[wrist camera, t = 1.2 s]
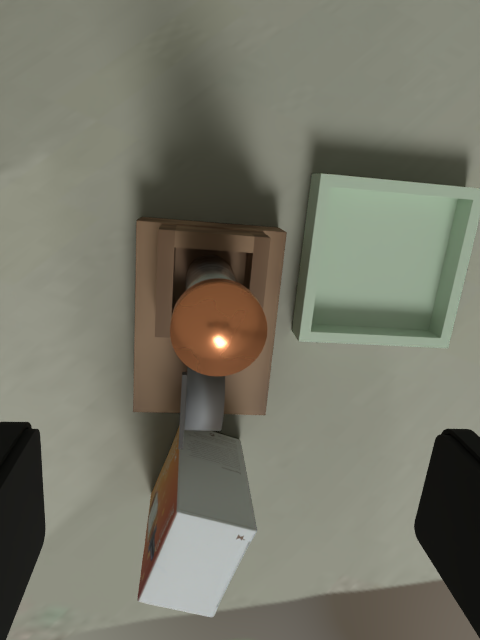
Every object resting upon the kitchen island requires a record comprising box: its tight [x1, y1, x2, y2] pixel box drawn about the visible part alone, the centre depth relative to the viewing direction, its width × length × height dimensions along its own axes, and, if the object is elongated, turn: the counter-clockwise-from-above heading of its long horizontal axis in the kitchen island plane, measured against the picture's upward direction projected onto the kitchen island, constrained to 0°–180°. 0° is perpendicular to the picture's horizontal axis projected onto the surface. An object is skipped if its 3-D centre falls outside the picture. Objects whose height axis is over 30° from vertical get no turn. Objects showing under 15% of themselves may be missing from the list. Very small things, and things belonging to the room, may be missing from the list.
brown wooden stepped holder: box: [133, 217, 287, 449], centre depth 31 cm, size 10×14×8 cm
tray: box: [292, 173, 480, 348], centre depth 34 cm, size 12×12×2 cm
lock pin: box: [170, 255, 268, 376], centre depth 25 cm, size 4×4×11 cm
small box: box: [138, 423, 257, 617], centre depth 34 cm, size 8×6×10 cm
